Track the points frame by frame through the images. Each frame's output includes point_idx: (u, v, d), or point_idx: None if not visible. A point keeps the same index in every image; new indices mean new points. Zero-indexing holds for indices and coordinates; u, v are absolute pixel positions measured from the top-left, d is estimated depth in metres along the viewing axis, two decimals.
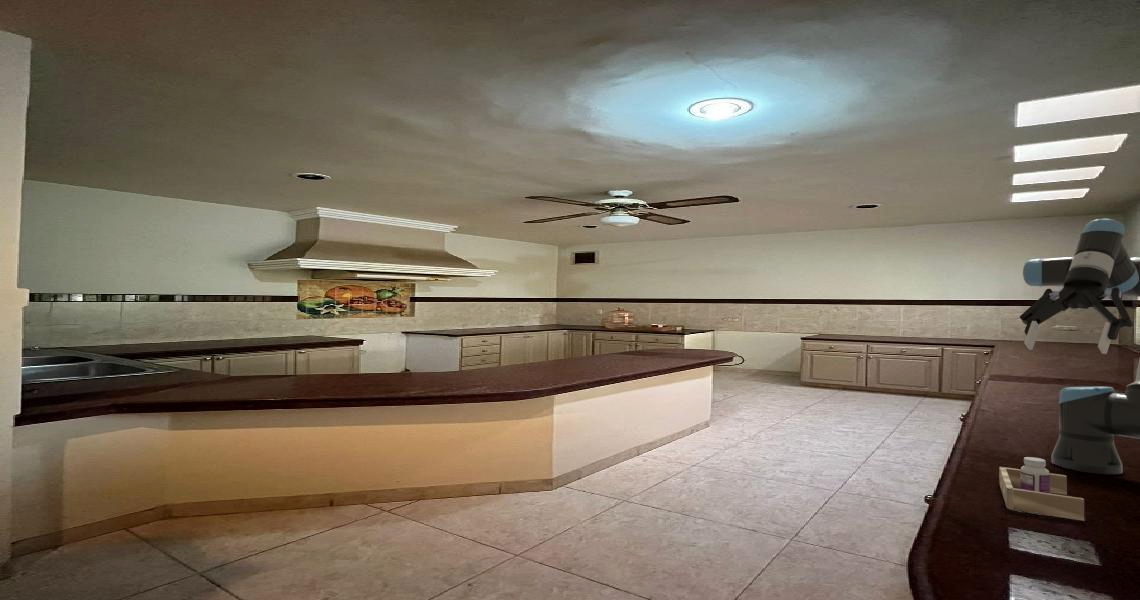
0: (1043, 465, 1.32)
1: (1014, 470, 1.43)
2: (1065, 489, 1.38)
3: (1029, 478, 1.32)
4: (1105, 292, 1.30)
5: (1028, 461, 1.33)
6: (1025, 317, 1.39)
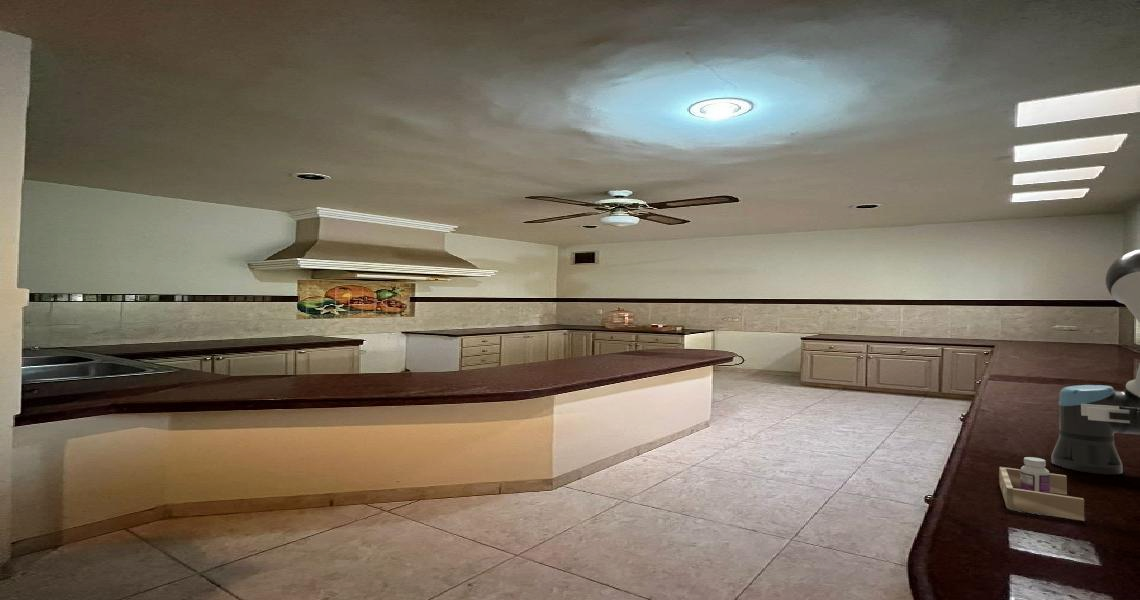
0: (1043, 465, 1.32)
1: (1014, 470, 1.43)
2: (1065, 489, 1.38)
3: (1029, 478, 1.32)
4: None
5: (1028, 461, 1.33)
6: None
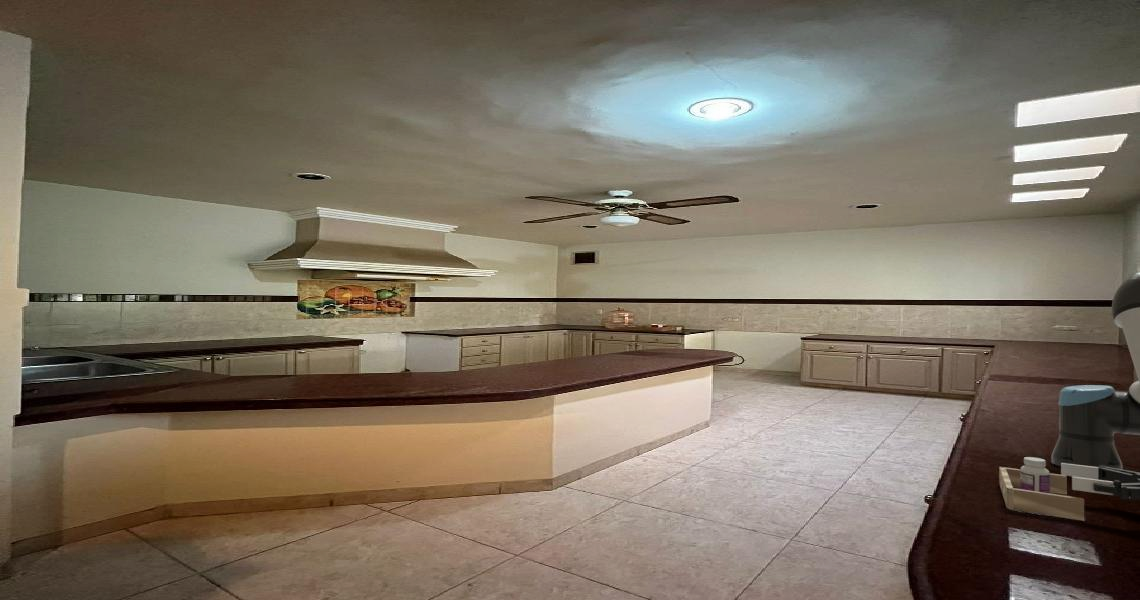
0: (1043, 465, 1.32)
1: (1014, 470, 1.43)
2: (1065, 489, 1.38)
3: (1029, 478, 1.32)
4: None
5: (1028, 461, 1.33)
6: None
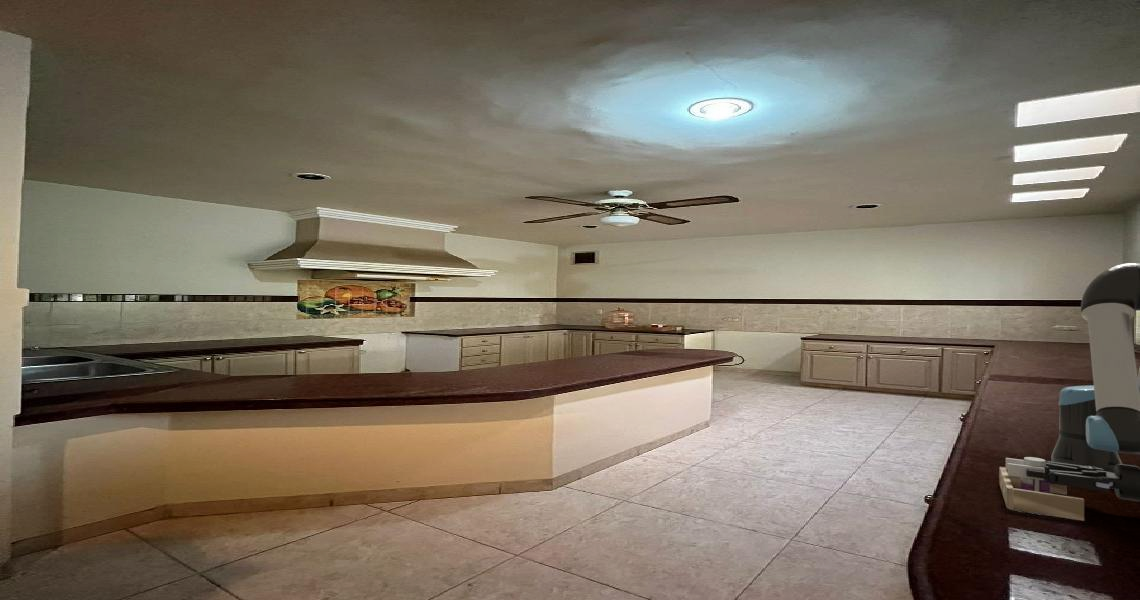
0: (1043, 465, 1.32)
1: None
2: (1065, 489, 1.38)
3: (1029, 478, 1.32)
4: None
5: (1028, 461, 1.33)
6: None
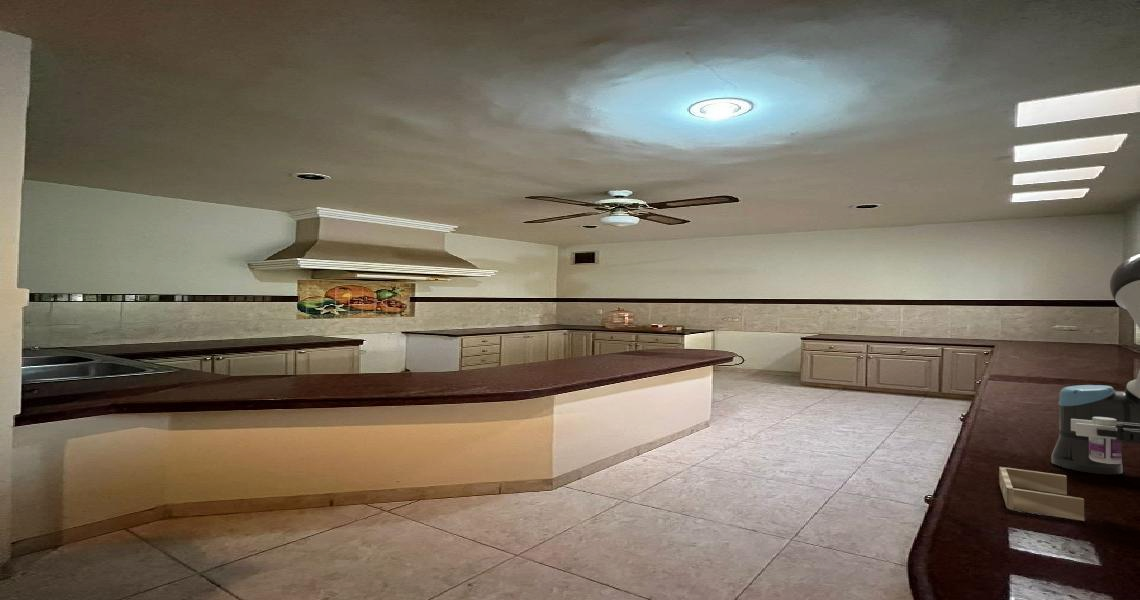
0: (1114, 424, 1.26)
1: (1014, 470, 1.43)
2: (1065, 489, 1.38)
3: None
4: None
5: (1098, 421, 1.27)
6: None
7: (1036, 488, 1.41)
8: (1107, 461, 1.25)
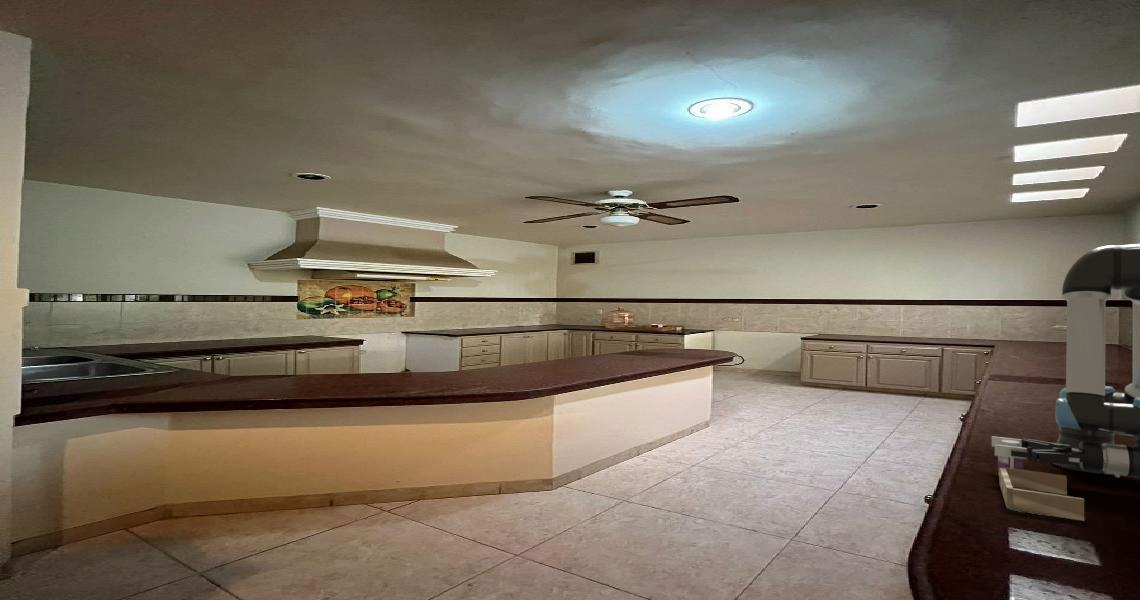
0: (1017, 446, 1.50)
1: (1014, 470, 1.43)
2: (1065, 489, 1.38)
3: (1005, 458, 1.51)
4: None
5: (1004, 443, 1.52)
6: None
7: (1036, 488, 1.41)
8: None
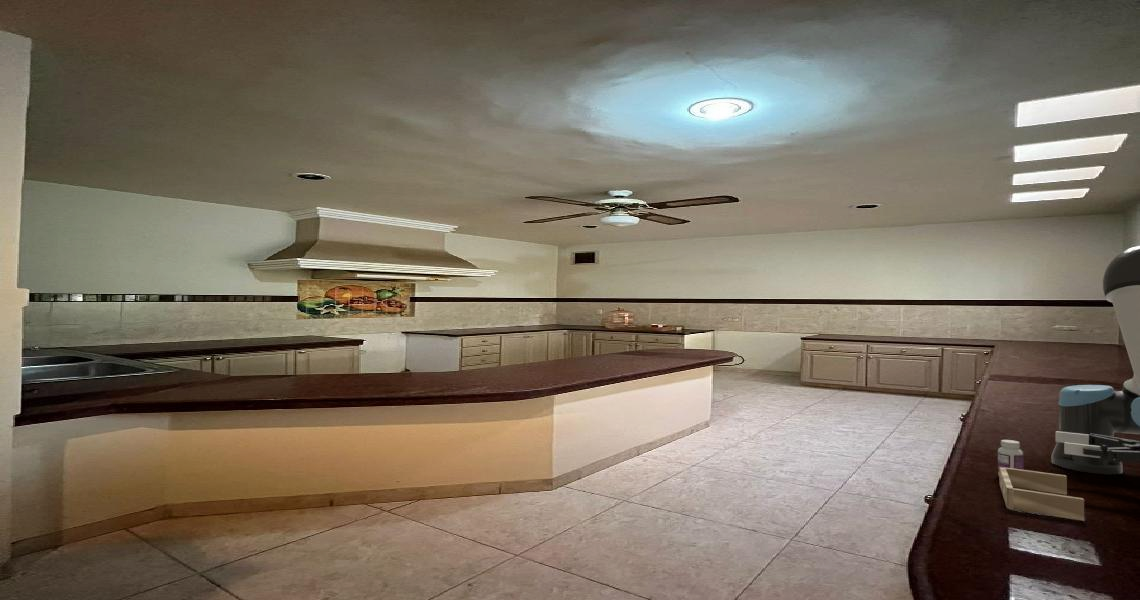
0: (1017, 446, 1.50)
1: (1014, 470, 1.43)
2: (1065, 489, 1.38)
3: (1005, 458, 1.51)
4: None
5: (1004, 443, 1.52)
6: None
7: (1036, 488, 1.41)
8: None
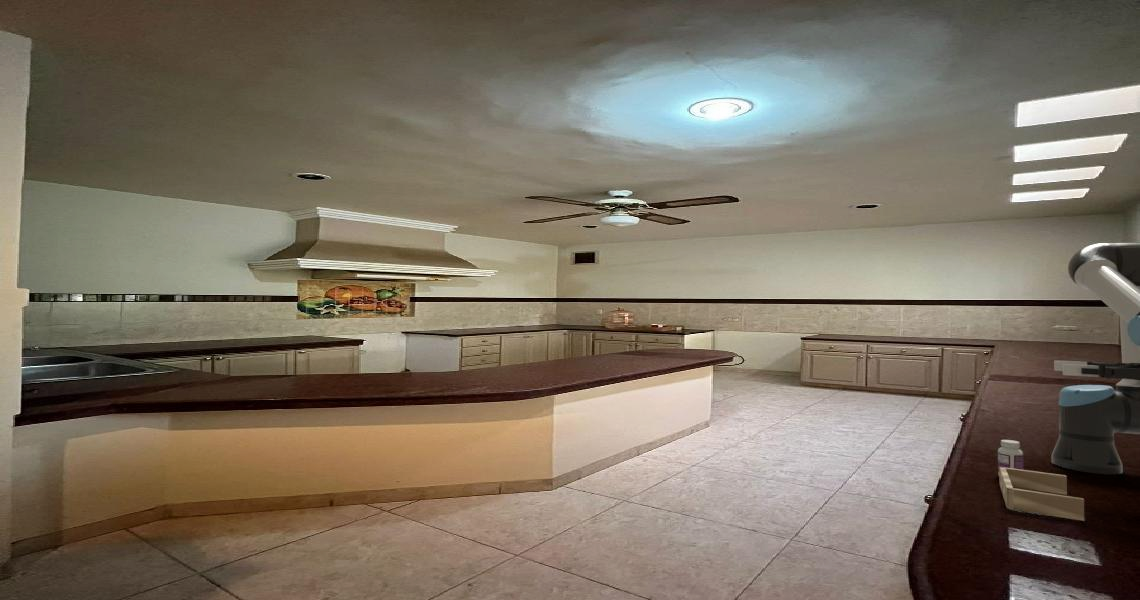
0: (1017, 446, 1.50)
1: (1014, 470, 1.43)
2: (1065, 489, 1.38)
3: (1005, 458, 1.51)
4: None
5: (1004, 443, 1.52)
6: None
7: (1036, 488, 1.41)
8: None
